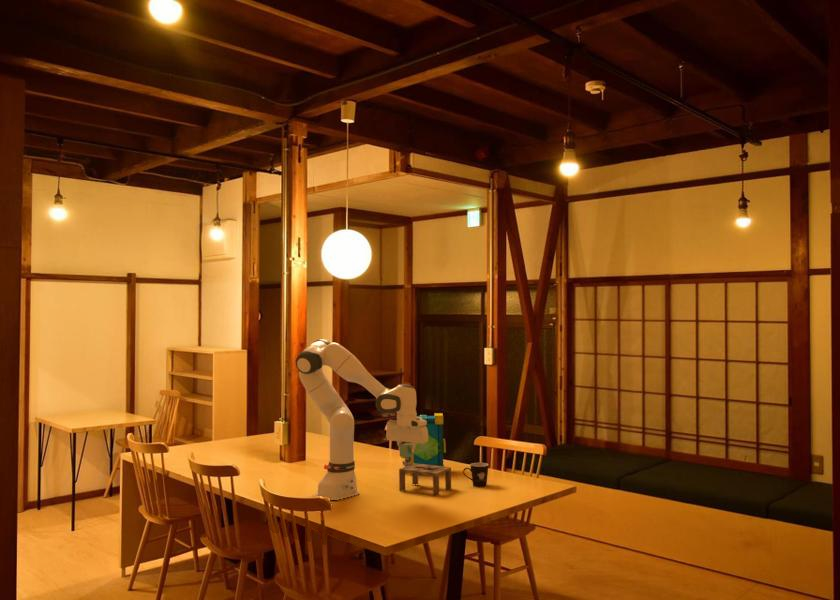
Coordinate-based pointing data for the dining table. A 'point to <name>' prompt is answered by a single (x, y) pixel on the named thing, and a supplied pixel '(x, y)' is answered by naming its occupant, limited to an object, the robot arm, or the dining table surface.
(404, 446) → the peg
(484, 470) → the coffee mug
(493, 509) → the dining table surface
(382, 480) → the dining table surface
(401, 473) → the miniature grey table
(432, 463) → the decorative book
